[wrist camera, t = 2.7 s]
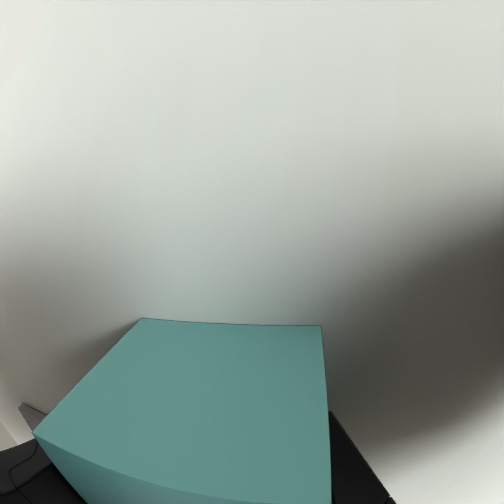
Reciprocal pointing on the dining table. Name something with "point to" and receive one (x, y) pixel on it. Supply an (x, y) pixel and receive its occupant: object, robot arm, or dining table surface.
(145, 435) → the teal cube
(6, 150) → the dining table surface
